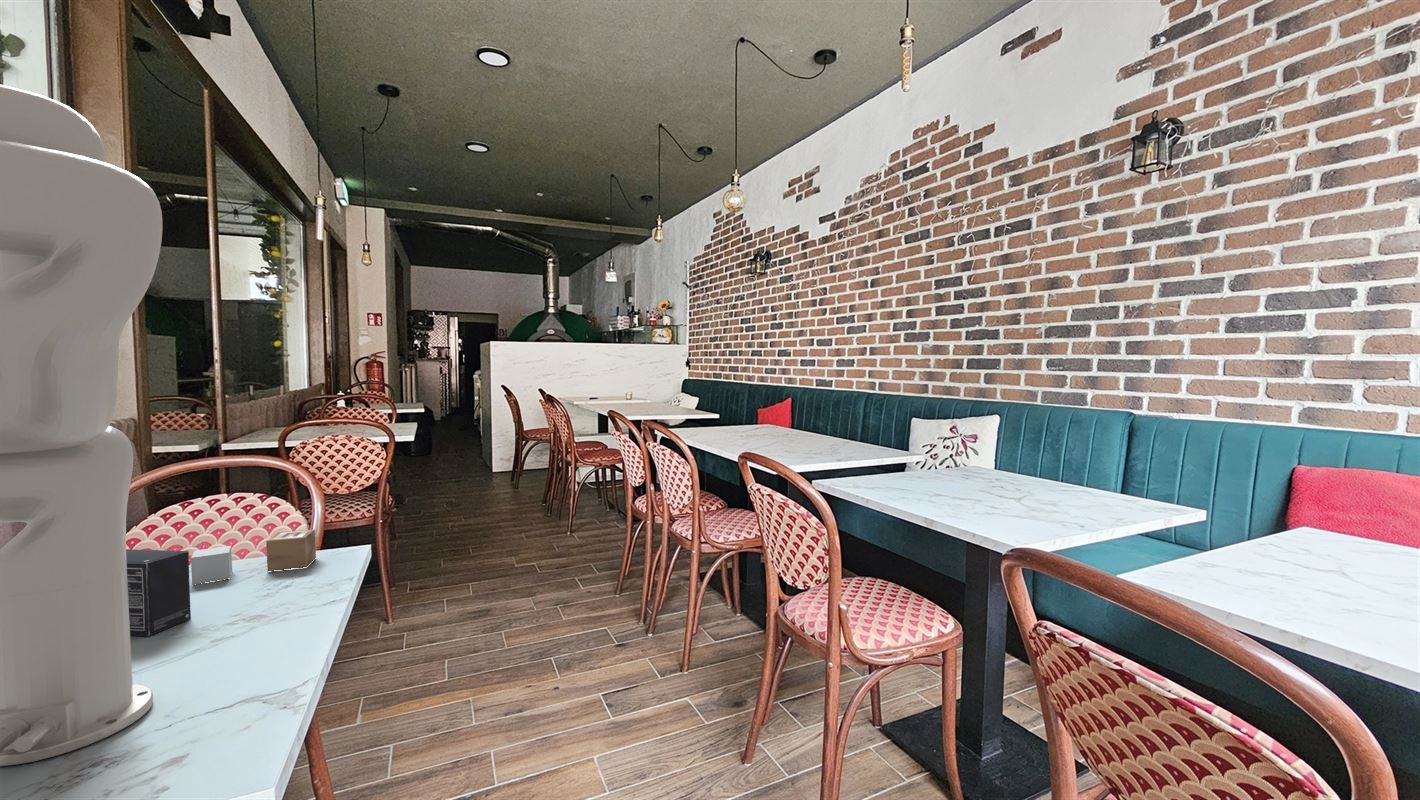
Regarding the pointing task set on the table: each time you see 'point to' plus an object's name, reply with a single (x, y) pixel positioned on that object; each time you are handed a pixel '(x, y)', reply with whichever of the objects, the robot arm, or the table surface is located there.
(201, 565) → the grey block
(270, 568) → the walnut cube
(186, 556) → the small box
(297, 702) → the table surface
